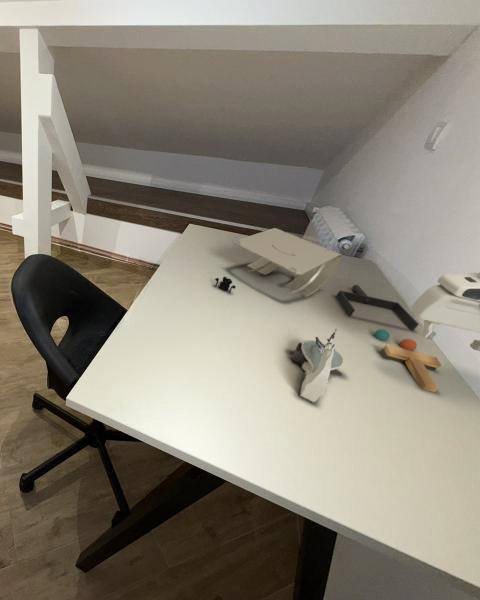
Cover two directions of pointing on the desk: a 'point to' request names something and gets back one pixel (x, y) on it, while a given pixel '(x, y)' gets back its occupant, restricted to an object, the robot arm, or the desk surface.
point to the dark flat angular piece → (365, 299)
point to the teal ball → (382, 335)
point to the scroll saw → (316, 366)
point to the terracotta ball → (408, 344)
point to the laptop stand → (292, 258)
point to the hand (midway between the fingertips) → (449, 342)
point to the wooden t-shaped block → (414, 365)
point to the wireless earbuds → (225, 284)
